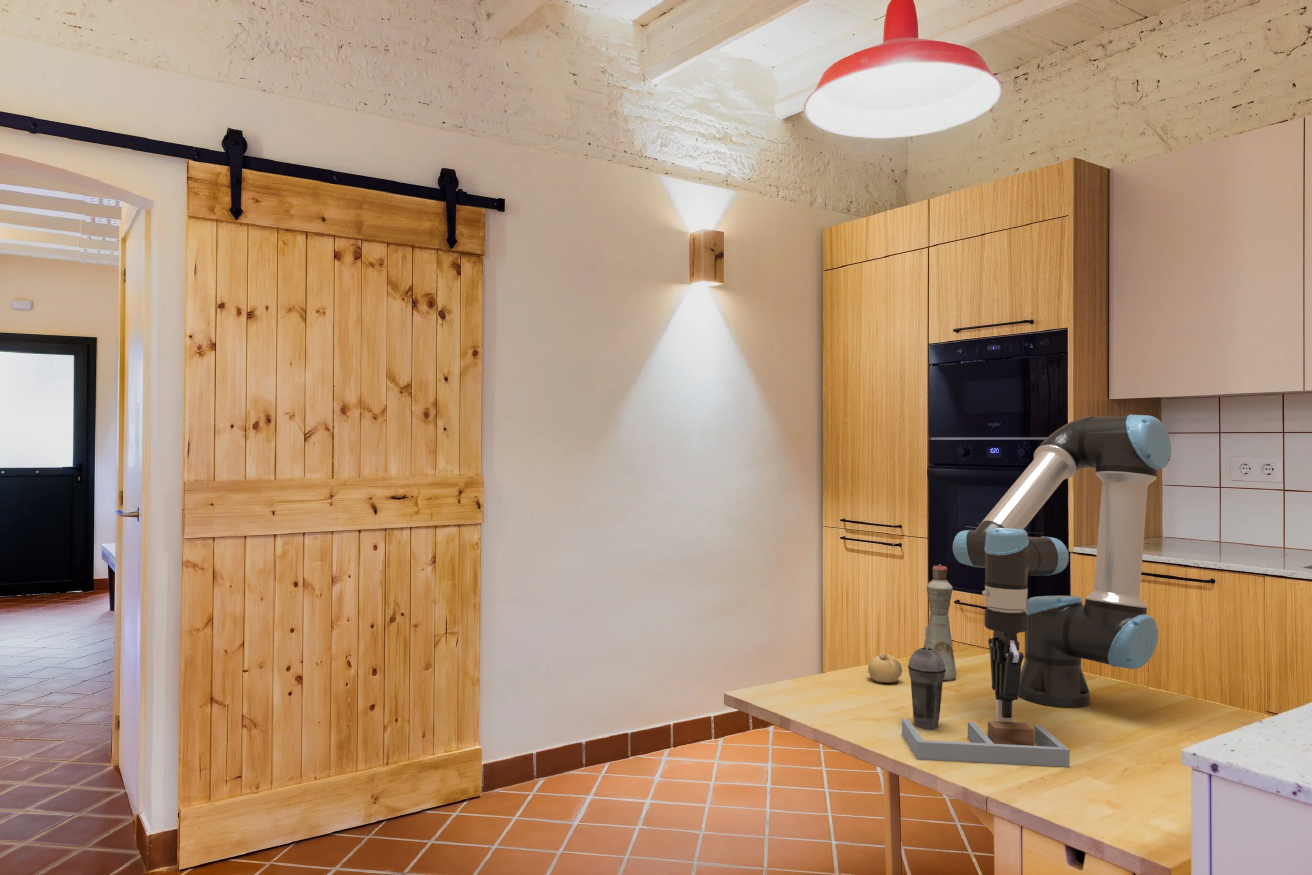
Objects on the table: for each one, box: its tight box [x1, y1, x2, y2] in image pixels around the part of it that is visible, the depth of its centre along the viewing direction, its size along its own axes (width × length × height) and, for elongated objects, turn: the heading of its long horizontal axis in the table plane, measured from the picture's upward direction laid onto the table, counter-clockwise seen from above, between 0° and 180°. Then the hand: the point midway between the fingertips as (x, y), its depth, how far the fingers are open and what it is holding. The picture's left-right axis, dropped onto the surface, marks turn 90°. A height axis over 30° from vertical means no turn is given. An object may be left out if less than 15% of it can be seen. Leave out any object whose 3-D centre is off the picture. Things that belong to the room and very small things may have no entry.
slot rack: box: [901, 718, 1070, 768], centre depth 148 cm, size 26×13×3 cm, turn 85°
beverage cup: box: [907, 626, 946, 731], centre depth 162 cm, size 7×7×20 cm
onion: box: [867, 653, 903, 683], centre depth 194 cm, size 8×8×7 cm
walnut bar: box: [987, 720, 1035, 746], centre depth 151 cm, size 7×4×4 cm, turn 84°
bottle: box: [923, 564, 957, 681], centre depth 199 cm, size 9×9×28 cm
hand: (1004, 732), depth 153 cm, fingers closed
